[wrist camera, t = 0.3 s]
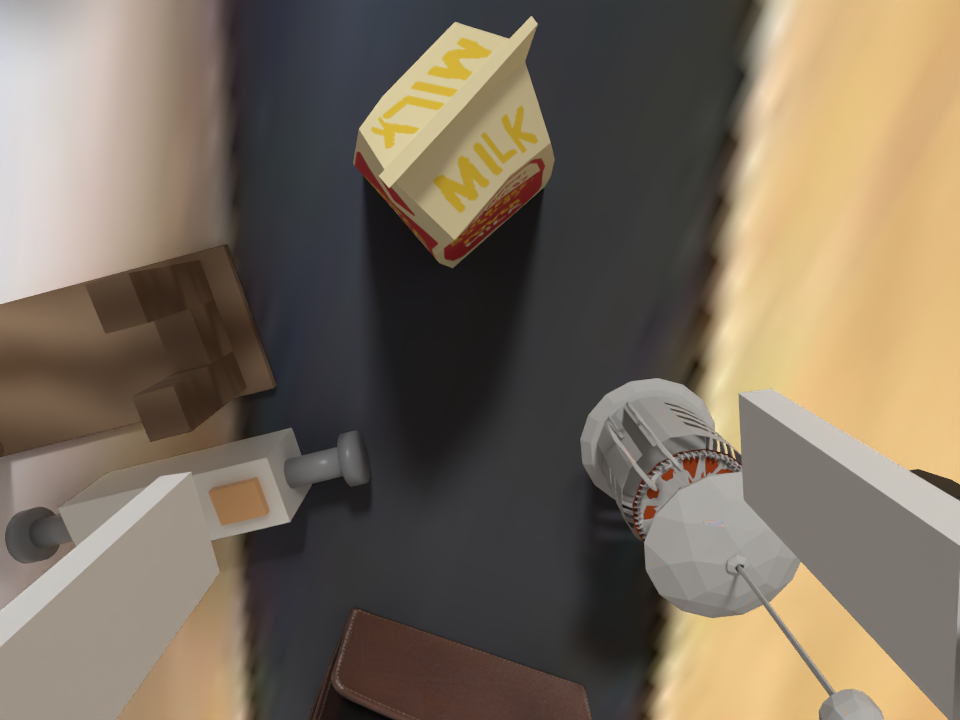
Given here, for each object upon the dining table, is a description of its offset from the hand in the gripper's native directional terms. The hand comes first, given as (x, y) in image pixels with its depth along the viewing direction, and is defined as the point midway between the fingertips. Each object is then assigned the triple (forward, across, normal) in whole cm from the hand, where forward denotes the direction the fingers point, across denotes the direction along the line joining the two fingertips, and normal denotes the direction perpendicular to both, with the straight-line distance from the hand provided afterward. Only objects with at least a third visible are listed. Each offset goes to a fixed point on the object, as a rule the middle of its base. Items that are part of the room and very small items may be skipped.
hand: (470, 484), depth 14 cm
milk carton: (+28, 0, +9) cm, 29 cm away
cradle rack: (+27, -27, 0) cm, 38 cm away
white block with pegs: (+28, -21, -10) cm, 36 cm away
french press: (+28, +10, -11) cm, 31 cm away
